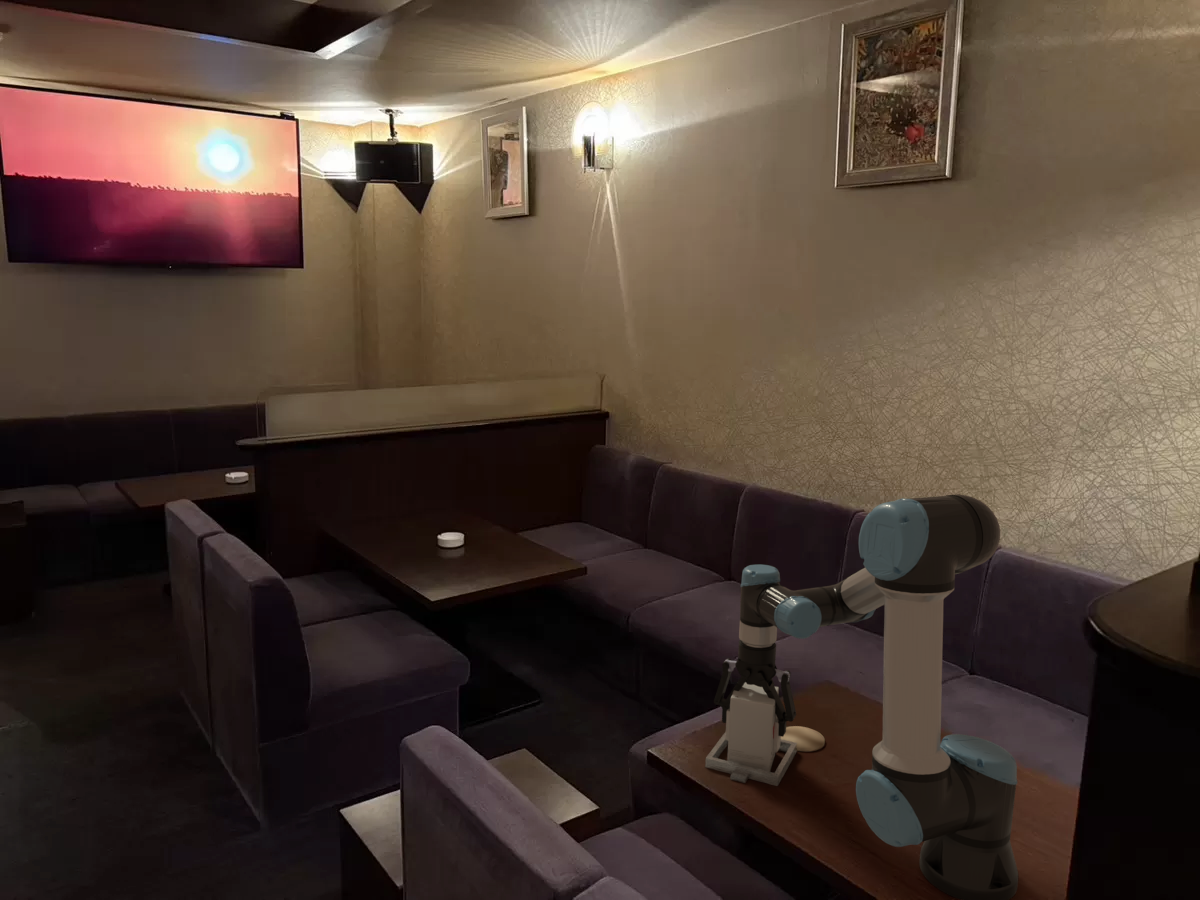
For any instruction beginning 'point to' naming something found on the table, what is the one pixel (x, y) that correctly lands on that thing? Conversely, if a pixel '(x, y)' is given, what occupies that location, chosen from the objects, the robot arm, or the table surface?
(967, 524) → the robot arm
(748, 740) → the supplement box
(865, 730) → the table surface
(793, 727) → the coaster
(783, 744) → the grey frame with tab
